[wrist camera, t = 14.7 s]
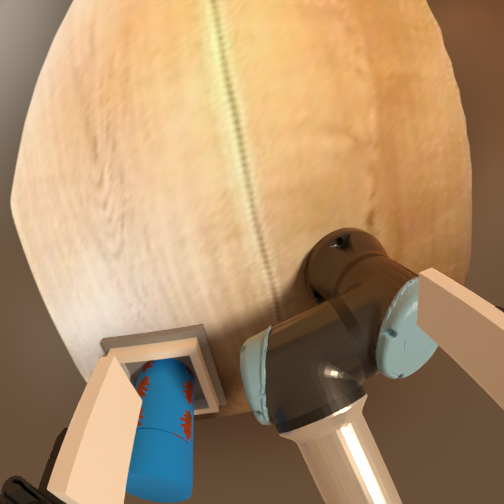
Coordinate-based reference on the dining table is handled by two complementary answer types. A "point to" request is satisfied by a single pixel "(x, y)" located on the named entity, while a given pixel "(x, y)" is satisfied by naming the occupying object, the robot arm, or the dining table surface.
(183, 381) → the thermos
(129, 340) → the holder
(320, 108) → the dining table surface
